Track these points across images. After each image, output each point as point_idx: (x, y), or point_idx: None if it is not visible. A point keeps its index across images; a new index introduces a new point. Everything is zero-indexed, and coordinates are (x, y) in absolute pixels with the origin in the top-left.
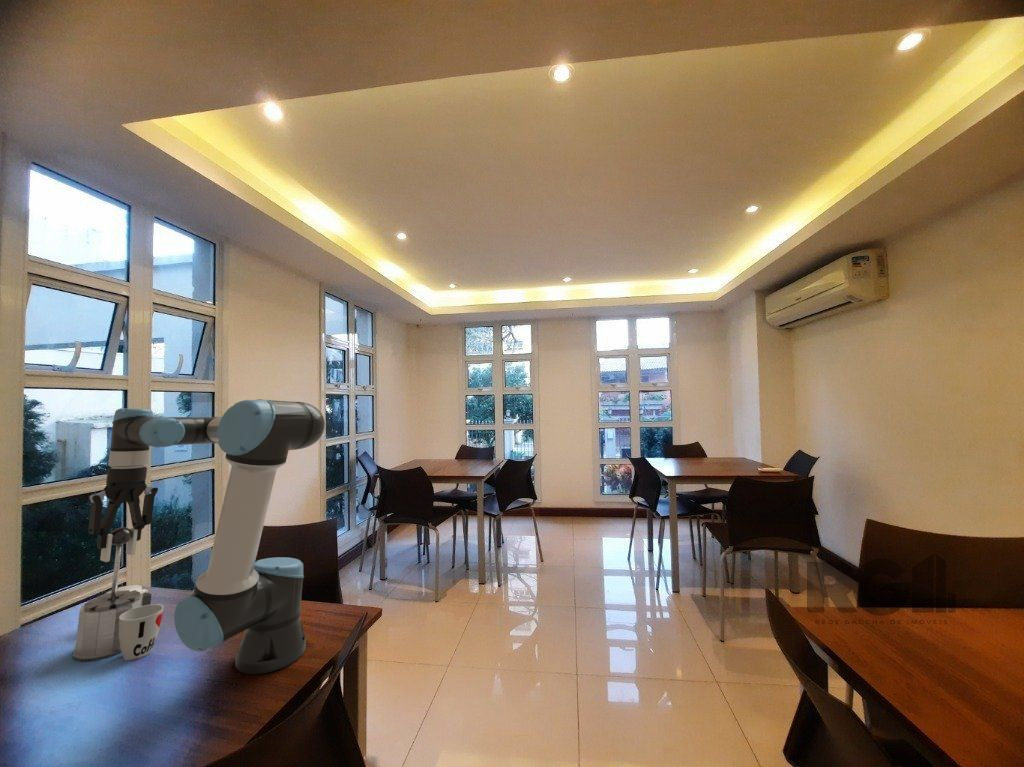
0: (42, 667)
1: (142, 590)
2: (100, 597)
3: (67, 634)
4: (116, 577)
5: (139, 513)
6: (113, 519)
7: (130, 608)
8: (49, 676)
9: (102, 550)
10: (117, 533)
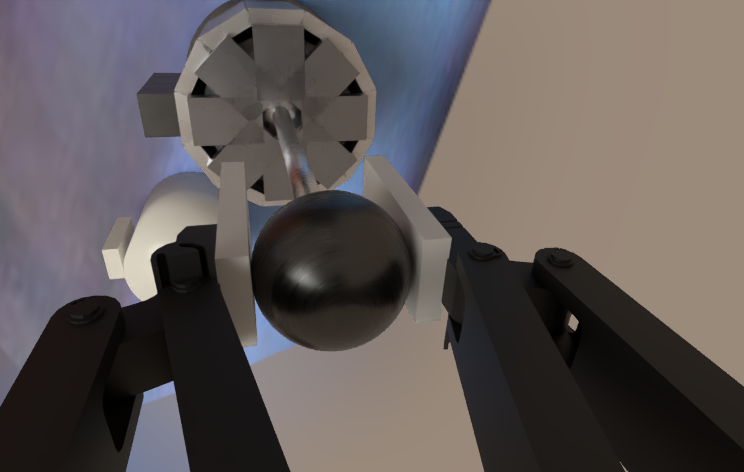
0: (394, 114)
1: (118, 267)
2: None
3: None
4: (293, 141)
5: (201, 409)
6: (500, 344)
7: (251, 7)
8: (408, 41)
9: None
10: (390, 244)
